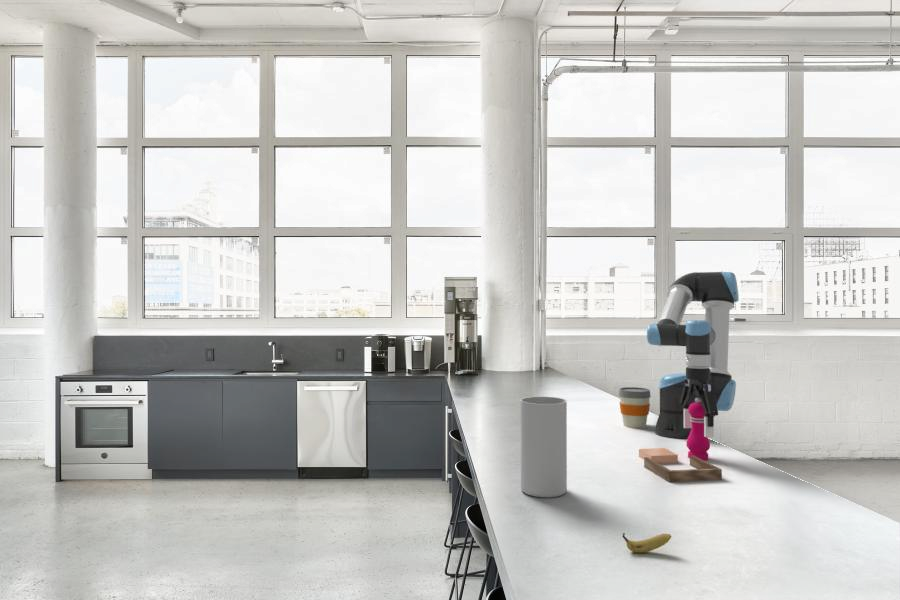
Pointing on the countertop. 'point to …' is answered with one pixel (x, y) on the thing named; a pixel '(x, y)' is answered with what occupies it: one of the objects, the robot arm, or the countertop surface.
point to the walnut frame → (686, 471)
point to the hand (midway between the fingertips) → (698, 432)
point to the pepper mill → (697, 432)
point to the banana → (647, 543)
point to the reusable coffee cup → (634, 406)
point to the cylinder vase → (544, 446)
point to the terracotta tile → (659, 455)
